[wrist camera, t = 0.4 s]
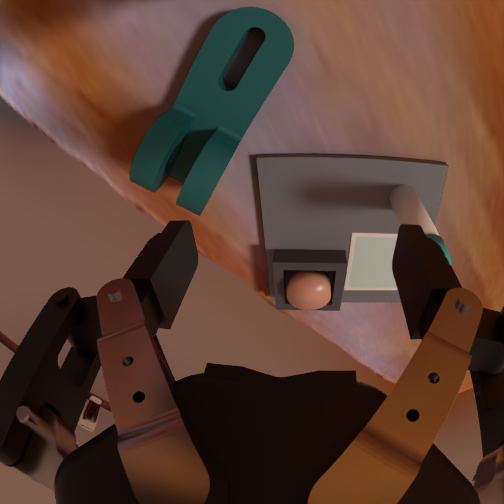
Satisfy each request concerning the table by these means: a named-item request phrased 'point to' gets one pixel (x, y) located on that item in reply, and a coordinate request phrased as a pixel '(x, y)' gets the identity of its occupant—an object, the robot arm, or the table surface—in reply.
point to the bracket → (213, 108)
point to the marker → (414, 213)
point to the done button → (308, 289)
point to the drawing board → (339, 220)
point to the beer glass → (91, 413)
